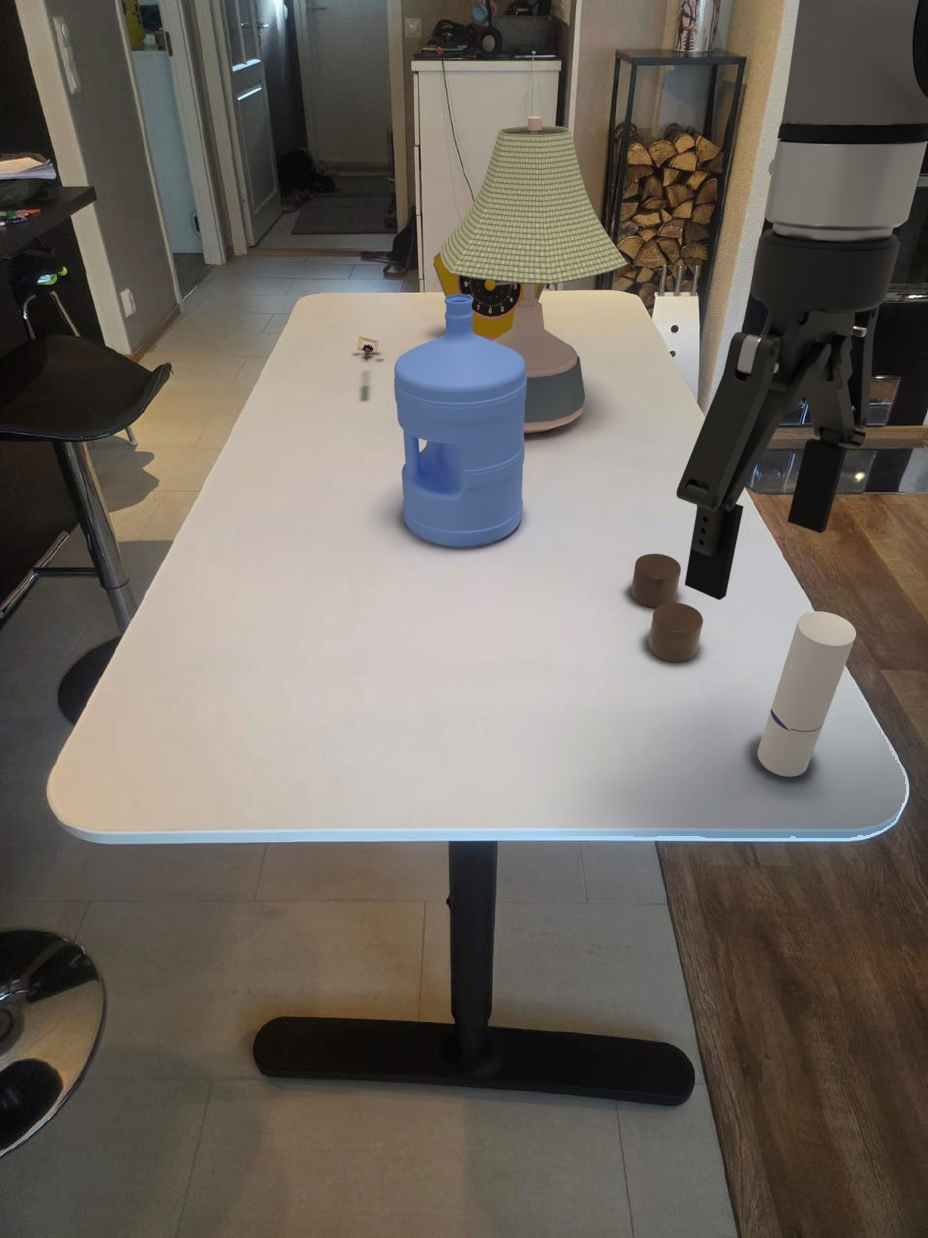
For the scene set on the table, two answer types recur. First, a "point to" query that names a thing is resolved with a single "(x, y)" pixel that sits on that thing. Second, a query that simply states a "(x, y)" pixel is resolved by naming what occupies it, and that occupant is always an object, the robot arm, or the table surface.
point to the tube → (805, 691)
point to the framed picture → (367, 347)
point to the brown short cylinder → (655, 580)
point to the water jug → (462, 433)
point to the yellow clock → (485, 299)
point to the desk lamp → (535, 254)
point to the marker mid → (675, 632)
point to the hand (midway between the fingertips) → (758, 556)
